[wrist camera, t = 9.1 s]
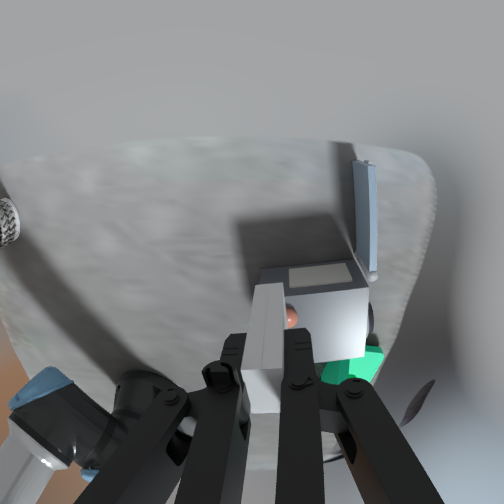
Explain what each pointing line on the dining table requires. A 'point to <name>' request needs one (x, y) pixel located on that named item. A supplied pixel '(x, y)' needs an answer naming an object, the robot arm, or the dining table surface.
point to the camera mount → (353, 367)
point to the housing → (327, 306)
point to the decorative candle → (8, 222)
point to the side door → (366, 216)
